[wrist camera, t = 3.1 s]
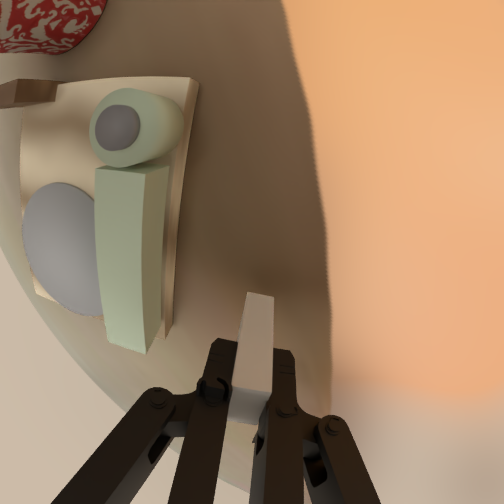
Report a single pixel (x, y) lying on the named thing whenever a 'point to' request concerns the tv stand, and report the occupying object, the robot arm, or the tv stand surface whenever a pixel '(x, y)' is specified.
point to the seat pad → (64, 246)
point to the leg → (132, 209)
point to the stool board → (83, 157)
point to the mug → (46, 24)
